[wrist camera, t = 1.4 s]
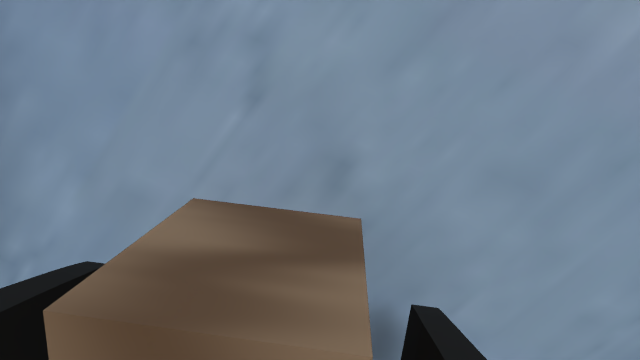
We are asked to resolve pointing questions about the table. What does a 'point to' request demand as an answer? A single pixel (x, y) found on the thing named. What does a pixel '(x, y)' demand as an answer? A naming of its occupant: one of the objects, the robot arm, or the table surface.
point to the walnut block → (223, 291)
